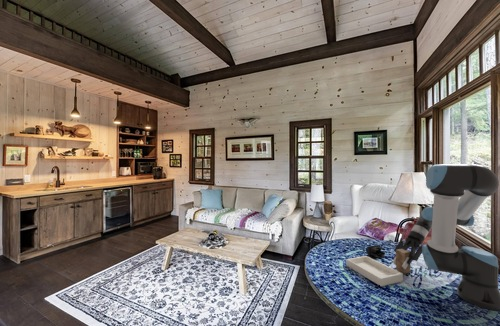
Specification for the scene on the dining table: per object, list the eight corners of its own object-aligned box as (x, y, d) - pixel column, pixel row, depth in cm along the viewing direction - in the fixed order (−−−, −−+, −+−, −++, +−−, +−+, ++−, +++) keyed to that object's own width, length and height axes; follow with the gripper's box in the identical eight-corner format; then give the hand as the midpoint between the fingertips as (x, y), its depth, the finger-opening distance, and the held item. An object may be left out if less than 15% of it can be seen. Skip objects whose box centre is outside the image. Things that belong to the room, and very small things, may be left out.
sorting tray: (402, 281, 116) (402, 273, 116) (381, 286, 110) (380, 278, 110) (366, 261, 138) (366, 255, 138) (346, 265, 133) (346, 259, 133)
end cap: (376, 252, 153) (376, 243, 153) (385, 256, 146) (385, 247, 146) (365, 254, 149) (365, 245, 149) (374, 259, 142) (374, 249, 142)
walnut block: (410, 272, 124) (410, 251, 124) (404, 273, 122) (404, 252, 122) (402, 268, 129) (401, 248, 129) (396, 269, 127) (395, 249, 127)
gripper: (437, 243, 122) (418, 277, 117) (405, 233, 139) (387, 262, 134) (431, 235, 120) (411, 268, 115) (400, 226, 137) (381, 255, 132)
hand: (398, 265), depth 124 cm, fingers closed on walnut block, 5 cm apart
